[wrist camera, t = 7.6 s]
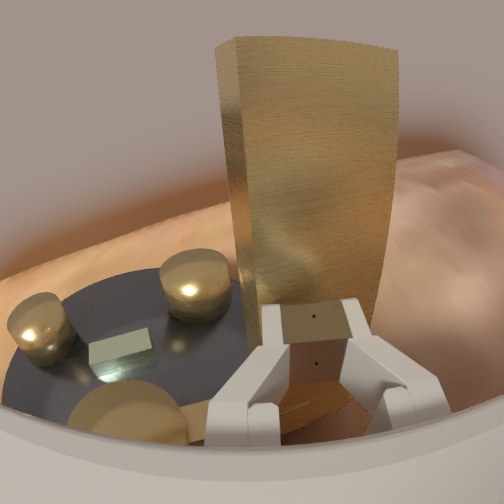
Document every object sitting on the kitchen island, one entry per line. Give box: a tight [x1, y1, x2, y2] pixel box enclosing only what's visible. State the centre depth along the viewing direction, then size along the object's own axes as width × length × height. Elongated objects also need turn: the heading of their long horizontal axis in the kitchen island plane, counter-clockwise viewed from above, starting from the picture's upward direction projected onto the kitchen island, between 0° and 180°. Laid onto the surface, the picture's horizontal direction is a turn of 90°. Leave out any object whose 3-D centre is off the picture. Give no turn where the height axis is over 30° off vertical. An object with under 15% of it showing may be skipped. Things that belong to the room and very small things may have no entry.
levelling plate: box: [2, 249, 249, 426], centre depth 18 cm, size 22×22×4 cm
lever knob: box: [67, 36, 399, 446], centre depth 9 cm, size 14×6×16 cm, turn 110°
